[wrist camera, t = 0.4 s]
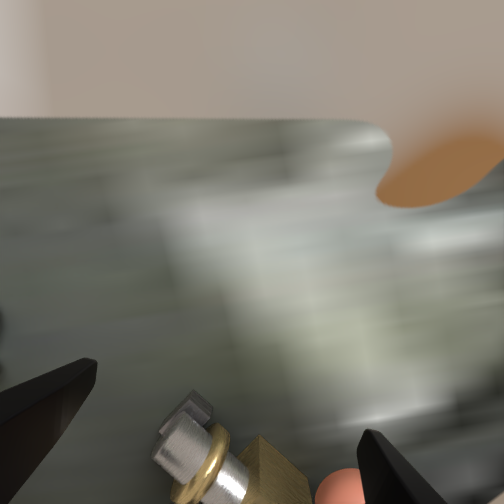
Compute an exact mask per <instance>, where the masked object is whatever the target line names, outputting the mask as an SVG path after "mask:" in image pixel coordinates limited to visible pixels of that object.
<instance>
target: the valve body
mask: <svg viewBox="0 0 504 504" xmlns="http://www.w3.org/2000/svg"><path fill="white" fill-rule="evenodd" d="M212 409H213V407H212V406H211V405H210V404H209V403H208V402H207V401H206V400H205V399H204V398H202V397H201V396H200V395H199V394H198V393H197V392H196V391H195V390H193V391H192V392H191V393H190V394H189V395H188V396H187V397H186V398H185V399H184V400H183V401H182V402H181V403H180V404H179V405H178V406H177V407H176V408H175V409H174V410H173V411H172V413H171V414H170V415H169V416H168V417H167V418H166V419H165V420H164V422H163V424H162V426H161V428H160V430H159V432H160V433H161V434H162V435H161V437H160V438H159V440H158V441H157V443H156V445H155V447H154V449H153V451H152V453H151V458H152V459H153V460H154V461H155V462H156V463H157V464H158V465H160V466H161V467H162V468H163V469H164V470H165V471H166V472H168V473H169V474H170V475H171V476H172V477H173V478H174V481H173V484H172V488H171V493H170V497H171V500H172V501H173V502H174V503H175V504H197V503H198V502H199V501H200V502H201V503H203V504H312V499H311V494H310V489H309V484H308V479H307V477H306V476H305V475H304V474H303V473H302V472H300V471H299V470H298V469H297V468H296V467H295V466H294V465H293V464H292V463H290V462H289V461H288V460H287V459H286V458H285V457H284V456H283V455H282V454H280V453H279V452H278V451H277V450H276V449H275V448H274V447H273V446H272V445H270V444H269V443H268V442H267V441H266V440H265V439H264V438H263V437H262V436H260V435H258V436H257V437H256V438H255V439H254V440H253V441H252V442H251V443H250V444H249V445H248V446H247V447H246V448H245V449H244V450H243V451H242V452H241V453H240V454H239V455H238V456H237V457H235V456H234V455H233V454H232V453H231V452H229V451H228V449H229V444H230V434H229V432H228V431H227V430H226V429H225V428H224V427H222V426H221V425H220V424H219V423H214V424H212V425H211V426H209V427H208V428H207V429H206V430H205V429H204V428H203V427H202V426H203V425H204V424H205V423H206V422H207V421H208V420H209V419H210V417H211V413H212Z"/></svg>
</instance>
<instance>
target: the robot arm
mask: <svg viewBox="0 0 504 504" xmlns="http://www.w3.org/2000/svg"><path fill="white" fill-rule="evenodd" d="M96 373H97V361H96V360H93V359H89V358H82V359H79V360H77V361H74V362H72V363H69V364H67V365H65V366H62V367H60V368H57V369H55V370H53V371H50V372H48V373H45V374H43V375H40V376H38V377H36V378H33V379H31V380H28V381H26V382H24V383H21V384H19V385H16V386H14V387H11V388H9V389H7V390H4V391H2V392H0V504H8V503H9V502H10V501H11V499H12V498H13V497H14V495H15V494H16V493H17V492H18V490H19V489H20V488H21V487H22V485H23V484H24V483H25V482H26V480H27V479H28V478H29V477H30V475H31V474H32V473H33V472H34V470H35V469H36V468H37V466H38V465H39V464H40V463H41V461H42V460H43V459H44V458H45V456H46V455H47V454H48V453H49V451H50V450H51V449H52V448H53V446H54V445H55V444H56V442H57V441H58V440H59V438H60V437H61V435H62V434H63V433H64V431H65V430H66V428H67V427H68V425H69V424H70V422H71V421H72V419H73V418H74V416H75V415H76V413H77V412H78V410H79V408H80V407H81V405H82V404H83V402H84V401H85V399H86V398H87V396H88V395H89V393H90V392H91V390H92V389H93V387H94V384H95V381H96ZM357 459H358V465H359V471H360V477H361V482H362V488H363V494H364V500H365V504H447V503H446V502H445V500H444V499H443V498H442V497H441V496H440V495H439V494H438V493H437V492H436V491H435V490H434V489H433V488H432V487H431V486H430V484H429V483H428V482H427V481H426V480H425V479H424V478H423V477H422V476H421V475H420V474H419V473H418V472H417V471H416V470H415V469H414V467H413V466H412V465H411V464H410V463H409V462H408V461H407V460H406V459H405V458H404V457H403V456H402V455H401V454H400V453H399V451H398V450H397V449H396V448H395V447H394V446H393V445H392V444H391V443H390V442H389V441H388V440H387V439H386V438H385V437H384V436H383V434H382V433H381V432H379V431H376V430H372V429H366V430H365V431H364V433H363V435H362V438H361V440H360V442H359V444H358V447H357Z"/></svg>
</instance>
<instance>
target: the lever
mask: <svg viewBox="0 0 504 504" xmlns="http://www.w3.org/2000/svg"><path fill="white" fill-rule="evenodd" d="M315 504H365V500H364V494H363V488H362V482H361V477H360V471H359V469H354V468H348V469H341V470H338V471H335V472H333V473H332V474H330V475H328V476H327V477H326V478H325V479H324V480H323V481H322V482H321V484H320V485H319V487H318V489H317V492H316V496H315Z"/></svg>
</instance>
